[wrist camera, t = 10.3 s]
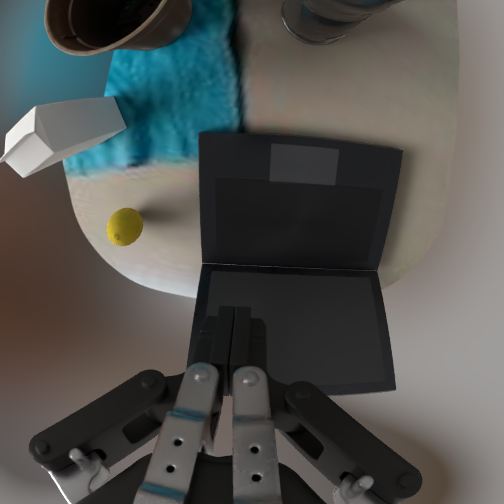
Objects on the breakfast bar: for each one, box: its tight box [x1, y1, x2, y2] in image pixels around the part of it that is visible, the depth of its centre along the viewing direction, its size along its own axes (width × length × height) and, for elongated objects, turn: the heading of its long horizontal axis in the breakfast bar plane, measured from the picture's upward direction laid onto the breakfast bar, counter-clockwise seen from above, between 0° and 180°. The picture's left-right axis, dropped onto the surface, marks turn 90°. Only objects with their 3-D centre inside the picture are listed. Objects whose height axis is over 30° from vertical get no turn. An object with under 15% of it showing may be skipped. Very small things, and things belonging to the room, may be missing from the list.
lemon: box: [107, 208, 143, 246], centre depth 44 cm, size 6×6×8 cm
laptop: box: [199, 132, 403, 270], centre depth 45 cm, size 21×30×2 cm
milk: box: [0, 96, 127, 178], centre depth 30 cm, size 6×6×22 cm
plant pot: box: [44, 0, 192, 56], centre depth 24 cm, size 16×16×16 cm
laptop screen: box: [186, 264, 396, 396], centre depth 43 cm, size 21×30×1 cm
